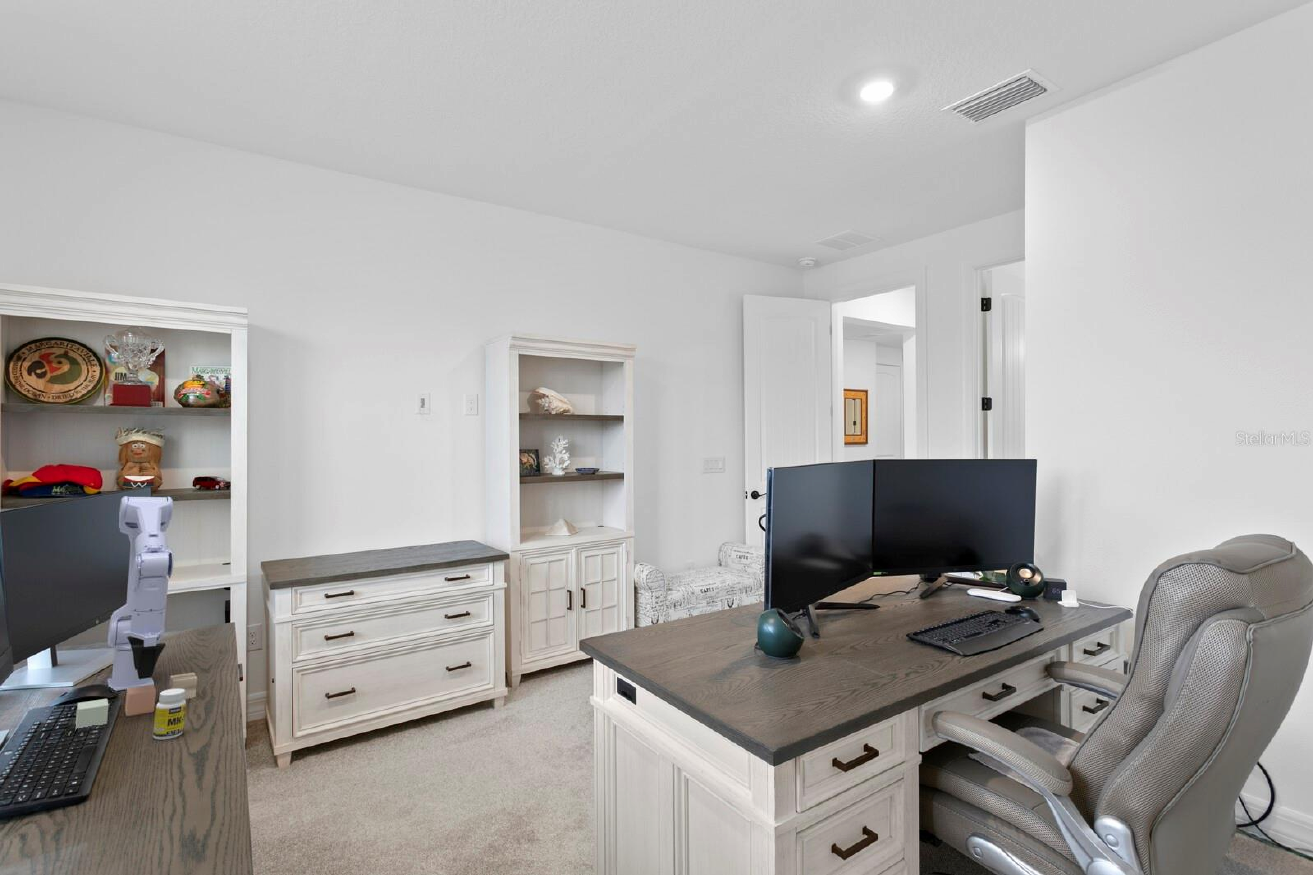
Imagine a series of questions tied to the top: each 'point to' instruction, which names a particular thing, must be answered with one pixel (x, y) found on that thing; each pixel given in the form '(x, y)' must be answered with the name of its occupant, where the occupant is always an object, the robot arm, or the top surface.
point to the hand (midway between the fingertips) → (143, 673)
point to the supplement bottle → (169, 714)
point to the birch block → (184, 684)
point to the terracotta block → (140, 700)
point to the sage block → (92, 713)
